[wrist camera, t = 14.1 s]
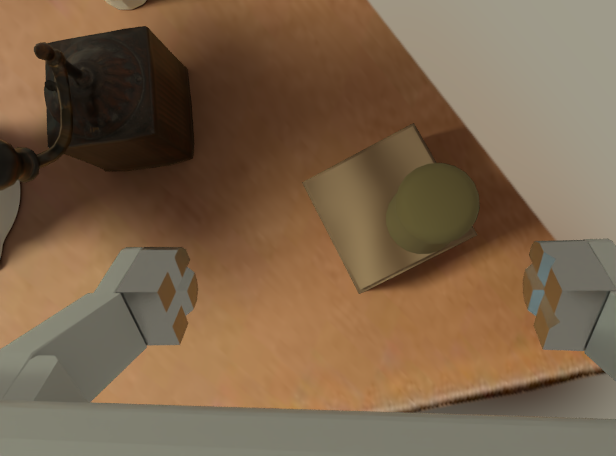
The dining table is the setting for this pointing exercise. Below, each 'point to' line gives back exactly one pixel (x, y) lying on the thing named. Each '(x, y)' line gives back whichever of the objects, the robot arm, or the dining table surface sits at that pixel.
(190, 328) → the dining table surface
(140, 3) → the white cup
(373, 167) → the walnut block
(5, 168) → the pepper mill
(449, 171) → the olive knobbed peg
